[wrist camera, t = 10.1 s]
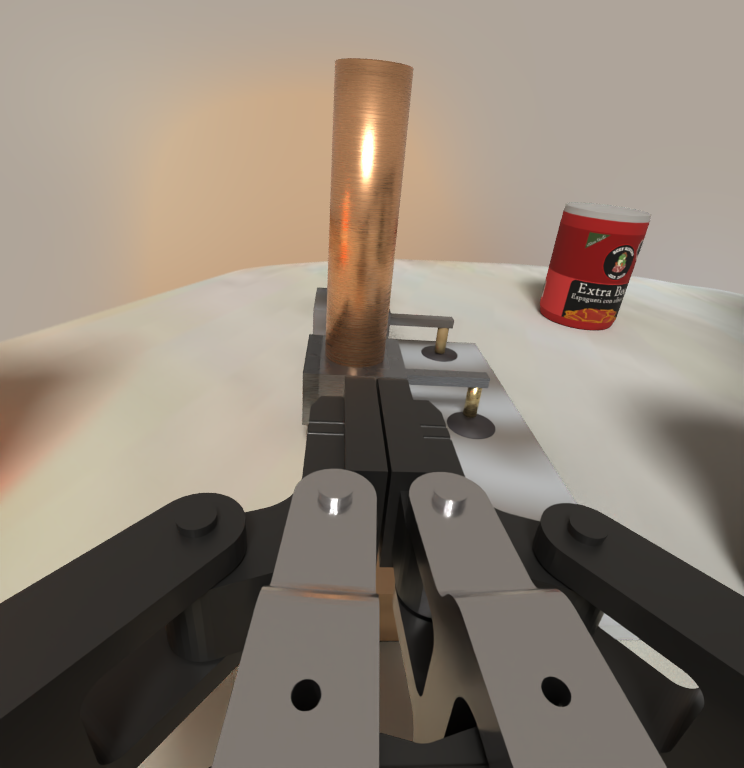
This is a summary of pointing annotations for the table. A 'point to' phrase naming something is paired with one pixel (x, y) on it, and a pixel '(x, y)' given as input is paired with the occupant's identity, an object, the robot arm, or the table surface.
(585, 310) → the canned food
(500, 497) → the grey metal fixture
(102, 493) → the table surface
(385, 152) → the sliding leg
